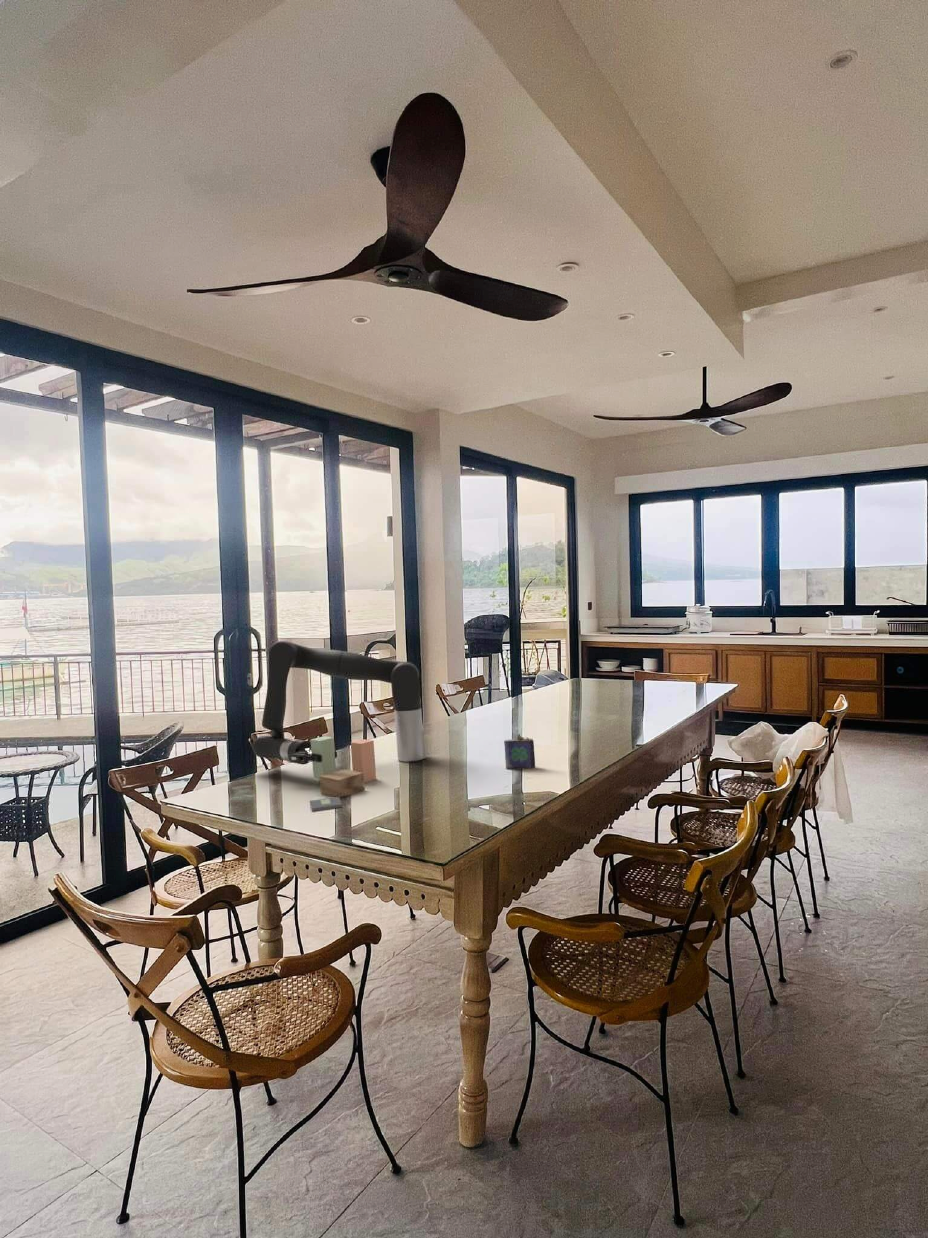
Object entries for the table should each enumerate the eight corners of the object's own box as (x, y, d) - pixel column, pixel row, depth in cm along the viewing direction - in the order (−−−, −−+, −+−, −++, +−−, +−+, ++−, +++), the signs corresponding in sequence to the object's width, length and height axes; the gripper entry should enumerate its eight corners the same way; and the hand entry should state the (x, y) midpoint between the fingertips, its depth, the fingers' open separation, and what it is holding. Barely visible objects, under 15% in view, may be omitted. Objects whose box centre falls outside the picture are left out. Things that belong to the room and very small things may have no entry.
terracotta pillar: (366, 777, 224) (363, 739, 224) (376, 779, 221) (373, 740, 221) (353, 780, 221) (350, 742, 220) (363, 783, 217) (360, 743, 217)
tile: (338, 799, 201) (338, 796, 201) (342, 807, 193) (341, 803, 193) (309, 803, 199) (309, 800, 198) (312, 811, 191) (311, 807, 191)
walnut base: (345, 785, 215) (344, 769, 215) (364, 789, 209) (363, 772, 209) (320, 793, 209) (319, 776, 209) (339, 797, 203) (338, 780, 202)
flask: (505, 769, 222) (503, 735, 222) (506, 767, 225) (504, 733, 224) (535, 768, 220) (532, 734, 220) (535, 766, 223) (533, 732, 223)
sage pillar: (326, 774, 224) (323, 736, 223) (336, 776, 220) (333, 737, 220) (313, 778, 220) (310, 739, 220) (323, 780, 217) (320, 741, 216)
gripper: (276, 744, 224) (308, 749, 213) (314, 735, 235) (346, 739, 223) (278, 768, 225) (310, 774, 213) (316, 758, 235) (348, 763, 224)
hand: (328, 756), depth 218 cm, fingers closed on sage pillar, 5 cm apart
